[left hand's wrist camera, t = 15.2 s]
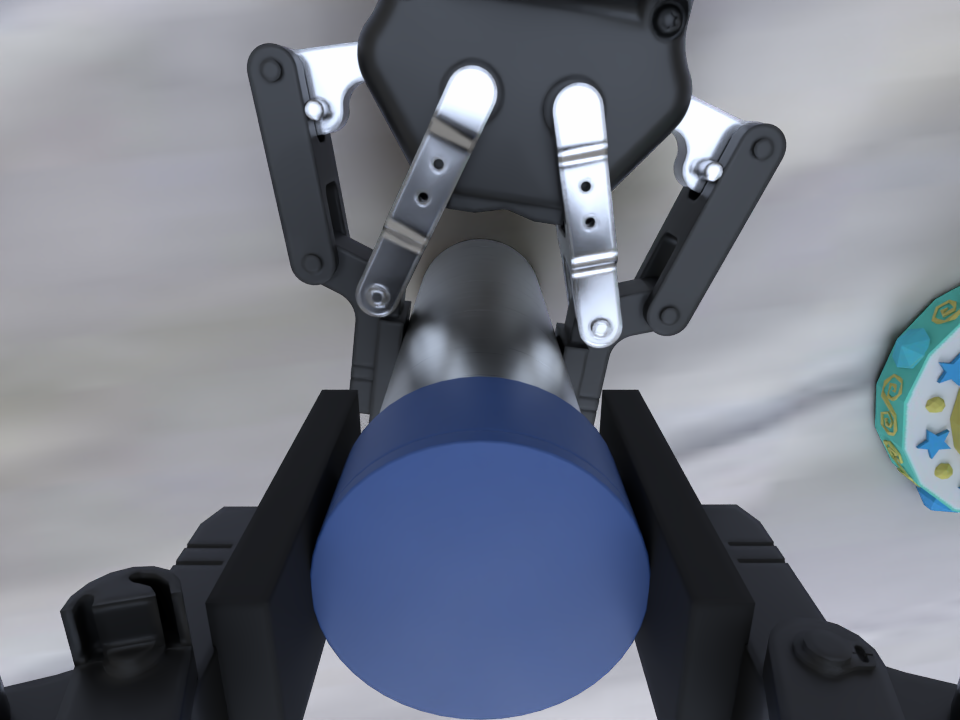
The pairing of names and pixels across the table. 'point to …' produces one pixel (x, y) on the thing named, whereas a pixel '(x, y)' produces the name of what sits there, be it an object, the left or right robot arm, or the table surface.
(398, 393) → the grey metal cylinder
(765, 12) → the table surface
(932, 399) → the decorative hourglass
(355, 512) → the lid
